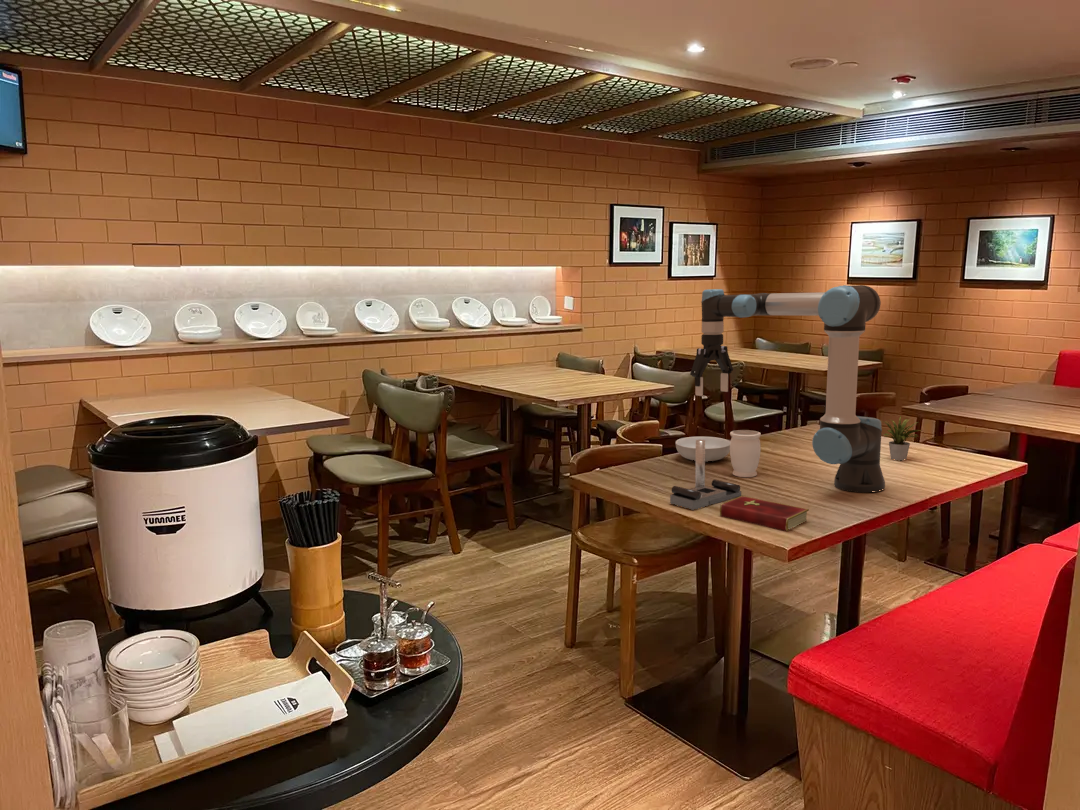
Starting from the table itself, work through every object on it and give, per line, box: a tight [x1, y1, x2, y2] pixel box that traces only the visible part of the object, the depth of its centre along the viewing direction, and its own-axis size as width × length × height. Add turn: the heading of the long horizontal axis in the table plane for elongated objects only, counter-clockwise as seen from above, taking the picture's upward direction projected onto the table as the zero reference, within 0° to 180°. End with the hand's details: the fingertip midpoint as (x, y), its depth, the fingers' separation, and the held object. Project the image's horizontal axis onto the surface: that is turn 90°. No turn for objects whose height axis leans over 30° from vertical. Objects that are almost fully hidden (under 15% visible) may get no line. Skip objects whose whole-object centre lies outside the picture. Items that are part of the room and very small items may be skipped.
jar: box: [729, 429, 762, 478], centre depth 265 cm, size 11×10×15 cm
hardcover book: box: [719, 495, 810, 532], centre depth 217 cm, size 12×21×4 cm, turn 44°
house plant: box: [880, 415, 924, 461], centre depth 281 cm, size 14×14×16 cm
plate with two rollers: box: [669, 479, 742, 511], centre depth 237 cm, size 9×23×5 cm, turn 128°
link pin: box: [694, 440, 706, 488], centre depth 249 cm, size 3×3×16 cm
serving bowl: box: [675, 436, 731, 463], centre depth 290 cm, size 21×21×7 cm
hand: (711, 393), depth 271 cm, fingers open, 13 cm apart
